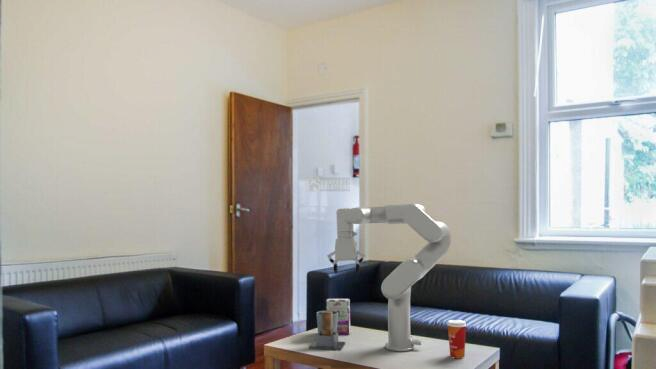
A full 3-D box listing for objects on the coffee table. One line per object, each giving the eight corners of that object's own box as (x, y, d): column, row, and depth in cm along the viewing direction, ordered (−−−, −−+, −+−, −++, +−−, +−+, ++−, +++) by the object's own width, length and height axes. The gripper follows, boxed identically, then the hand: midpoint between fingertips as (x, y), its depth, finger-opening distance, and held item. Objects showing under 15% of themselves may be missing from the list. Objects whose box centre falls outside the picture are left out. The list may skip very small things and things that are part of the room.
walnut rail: (333, 343, 219) (332, 311, 220) (330, 345, 215) (330, 312, 216) (324, 342, 220) (324, 310, 221) (321, 345, 216) (321, 312, 217)
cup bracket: (345, 344, 221) (345, 331, 221) (340, 350, 211) (340, 337, 212) (314, 342, 224) (314, 330, 225) (308, 348, 215) (308, 335, 215)
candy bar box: (350, 332, 242) (350, 298, 243) (349, 335, 237) (348, 300, 238) (327, 331, 244) (327, 298, 244) (326, 334, 239) (325, 299, 239)
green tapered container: (314, 340, 227) (313, 314, 228) (319, 335, 237) (319, 309, 238) (335, 341, 225) (335, 315, 226) (340, 336, 235) (340, 310, 235)
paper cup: (445, 353, 205) (445, 319, 206) (464, 353, 205) (463, 319, 206) (449, 359, 198) (449, 323, 198) (469, 359, 197) (468, 323, 198)
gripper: (365, 234, 229) (366, 271, 228) (328, 235, 233) (329, 272, 232) (363, 235, 222) (364, 273, 221) (325, 236, 225) (326, 274, 224)
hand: (346, 273), depth 226 cm, fingers open, 9 cm apart
